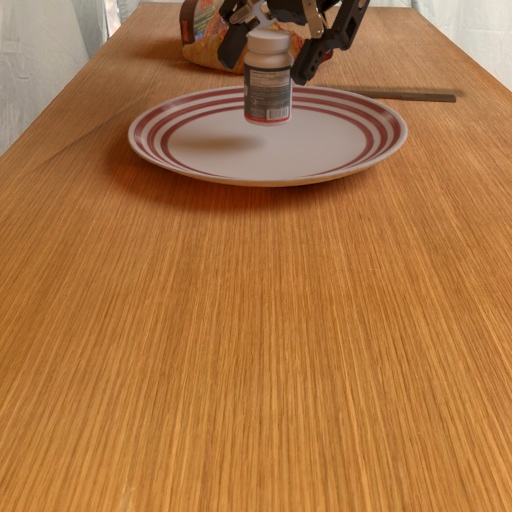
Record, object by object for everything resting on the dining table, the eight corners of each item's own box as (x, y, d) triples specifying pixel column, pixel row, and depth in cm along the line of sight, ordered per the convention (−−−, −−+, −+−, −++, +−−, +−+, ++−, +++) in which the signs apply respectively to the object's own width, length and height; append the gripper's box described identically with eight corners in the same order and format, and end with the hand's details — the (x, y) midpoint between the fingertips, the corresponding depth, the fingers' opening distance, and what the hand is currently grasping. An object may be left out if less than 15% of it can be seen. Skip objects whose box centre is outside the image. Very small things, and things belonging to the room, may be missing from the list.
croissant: (180, 94, 97) (171, 50, 91) (189, 44, 103) (181, -1, 96) (332, 96, 96) (334, 51, 89) (333, 45, 101) (335, -1, 94)
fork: (319, 96, 86) (320, 92, 86) (320, 92, 88) (320, 88, 87) (456, 102, 85) (456, 98, 84) (454, 97, 86) (454, 93, 86)
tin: (197, 63, 99) (195, 1, 95) (177, 61, 100) (174, -1, 96) (234, 39, 111) (233, -16, 107) (215, 38, 112) (214, -18, 108)
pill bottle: (252, 109, 71) (252, 25, 67) (296, 114, 70) (299, 29, 66) (237, 124, 67) (236, 36, 63) (284, 129, 66) (287, 40, 62)
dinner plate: (92, 202, 60) (87, 167, 58) (165, 103, 83) (163, 75, 82) (414, 222, 57) (419, 185, 56) (396, 113, 81) (399, 85, 79)
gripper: (257, -104, 68) (182, 37, 66) (387, -97, 60) (307, 63, 58) (287, -50, 74) (219, 80, 72) (407, -38, 67) (336, 108, 65)
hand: (259, 72), depth 65 cm, fingers open, 8 cm apart
